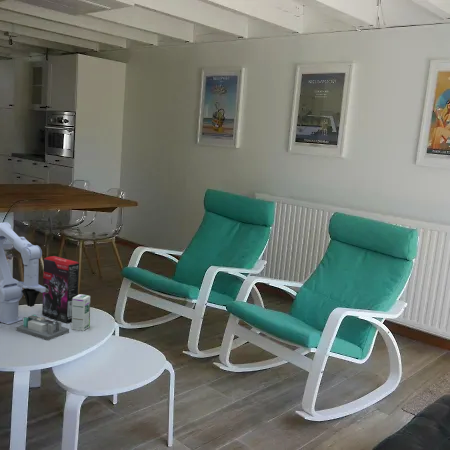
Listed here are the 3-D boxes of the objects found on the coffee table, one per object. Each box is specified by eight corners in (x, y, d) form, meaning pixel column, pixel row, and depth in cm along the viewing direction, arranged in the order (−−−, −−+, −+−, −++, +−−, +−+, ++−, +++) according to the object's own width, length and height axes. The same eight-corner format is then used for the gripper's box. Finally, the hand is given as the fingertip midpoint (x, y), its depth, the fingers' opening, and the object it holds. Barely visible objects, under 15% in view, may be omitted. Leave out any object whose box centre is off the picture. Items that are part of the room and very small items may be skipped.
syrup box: (83, 331, 226) (85, 298, 224) (71, 329, 227) (72, 297, 225) (89, 327, 231) (91, 295, 229) (77, 325, 232) (78, 293, 230)
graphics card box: (40, 315, 241) (42, 257, 237) (52, 311, 247) (54, 255, 243) (66, 324, 233) (68, 264, 229) (78, 320, 239) (80, 261, 235)
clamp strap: (27, 321, 223) (27, 316, 223) (32, 319, 225) (32, 314, 225) (53, 328, 217) (53, 323, 216) (58, 327, 219) (58, 321, 219)
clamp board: (16, 330, 221) (16, 318, 220) (38, 322, 231) (38, 311, 231) (48, 340, 213) (48, 327, 212) (69, 332, 223) (69, 320, 223)
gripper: (11, 273, 219) (11, 304, 221) (36, 279, 213) (36, 311, 215) (24, 270, 226) (24, 301, 227) (49, 276, 219) (49, 307, 221)
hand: (30, 305), depth 222 cm, fingers closed
